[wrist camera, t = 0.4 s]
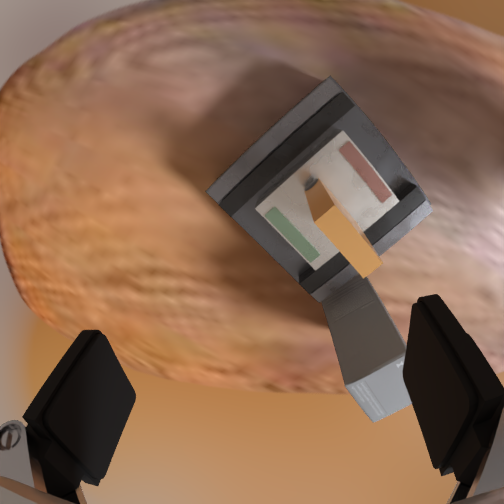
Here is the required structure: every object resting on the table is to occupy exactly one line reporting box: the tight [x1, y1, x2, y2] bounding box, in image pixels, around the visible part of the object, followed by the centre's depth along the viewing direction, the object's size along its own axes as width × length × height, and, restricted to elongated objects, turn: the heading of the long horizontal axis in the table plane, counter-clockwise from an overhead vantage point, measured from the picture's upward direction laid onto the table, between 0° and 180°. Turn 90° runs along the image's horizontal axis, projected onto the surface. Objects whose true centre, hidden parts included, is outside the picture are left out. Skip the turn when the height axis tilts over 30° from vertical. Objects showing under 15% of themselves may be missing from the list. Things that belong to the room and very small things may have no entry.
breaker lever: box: [304, 178, 383, 279], centre depth 23 cm, size 5×2×8 cm, turn 44°
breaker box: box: [205, 76, 433, 303], centre depth 30 cm, size 16×16×8 cm
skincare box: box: [321, 273, 412, 422], centre depth 32 cm, size 8×7×16 cm
